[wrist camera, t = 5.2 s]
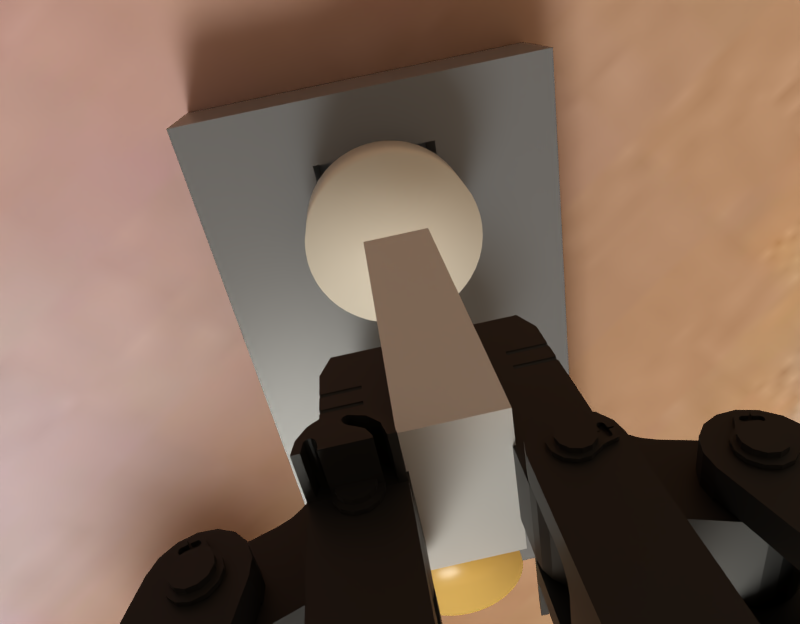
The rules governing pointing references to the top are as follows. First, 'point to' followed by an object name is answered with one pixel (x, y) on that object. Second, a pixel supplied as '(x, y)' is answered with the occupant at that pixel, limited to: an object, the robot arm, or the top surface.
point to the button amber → (476, 583)
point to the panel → (338, 134)
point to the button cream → (386, 217)
